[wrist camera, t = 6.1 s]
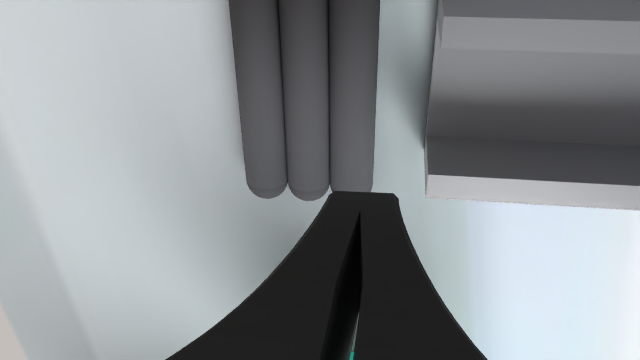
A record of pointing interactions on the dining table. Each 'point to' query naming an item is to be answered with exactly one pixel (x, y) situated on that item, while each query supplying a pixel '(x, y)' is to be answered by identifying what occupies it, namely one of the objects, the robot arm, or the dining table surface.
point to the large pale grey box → (535, 103)
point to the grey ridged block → (306, 93)
